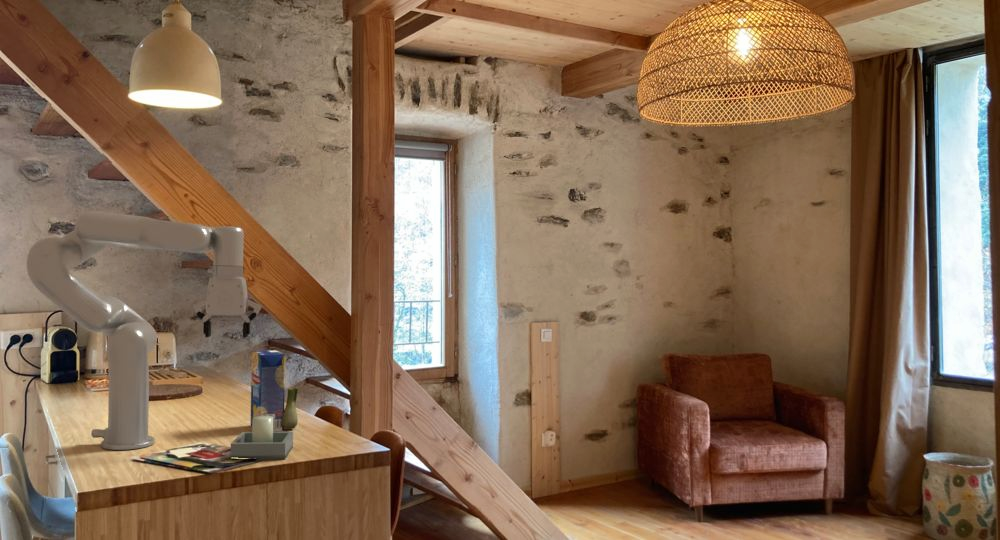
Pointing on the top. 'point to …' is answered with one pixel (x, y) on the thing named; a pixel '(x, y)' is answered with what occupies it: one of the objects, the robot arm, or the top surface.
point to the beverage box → (268, 386)
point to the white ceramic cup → (262, 429)
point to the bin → (262, 447)
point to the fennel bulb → (290, 410)
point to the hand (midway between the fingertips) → (226, 336)
